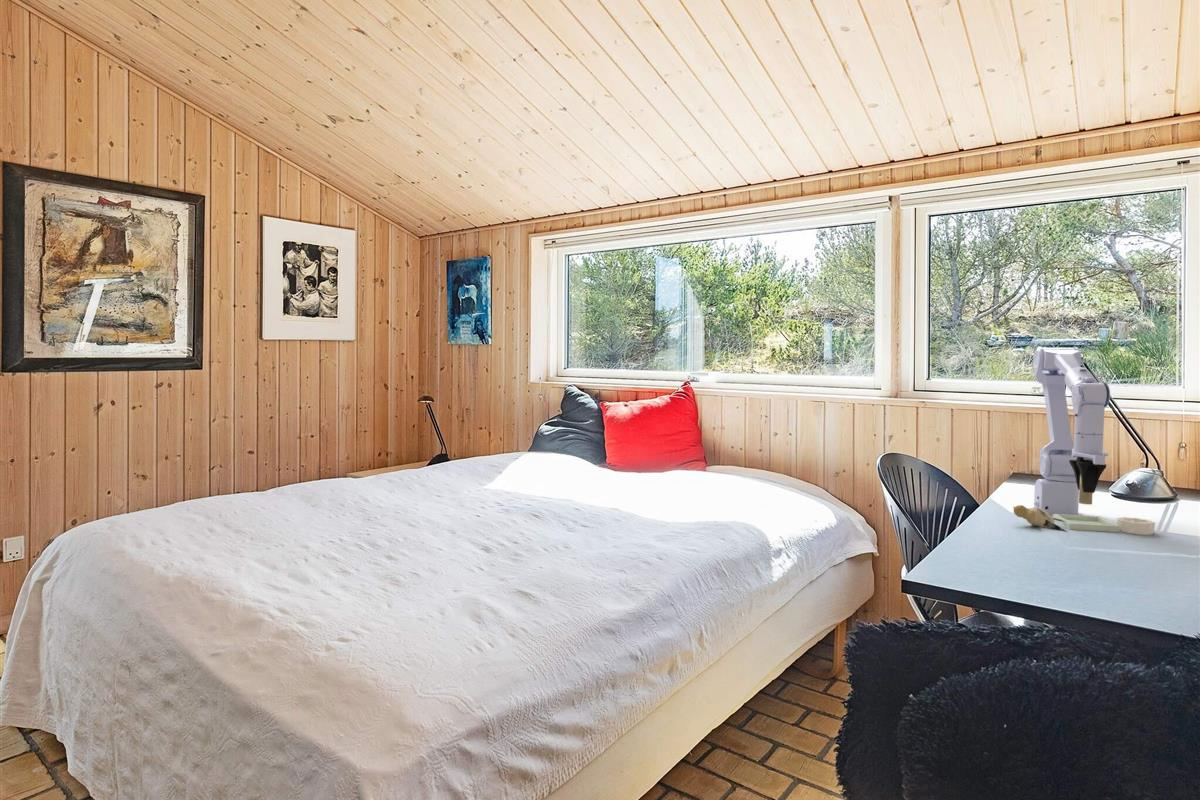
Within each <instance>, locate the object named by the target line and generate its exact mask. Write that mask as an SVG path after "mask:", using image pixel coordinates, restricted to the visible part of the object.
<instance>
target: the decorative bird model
mask: <svg viewBox="0 0 1200 800" xmlns="http://www.w3.org/2000/svg"><path fill="white" fill-rule="evenodd" d="M1013 513H1014V515H1015V516H1016V517H1017V518H1023V519H1024V520H1026V521H1027V523H1029V524H1030V525H1031V526H1033V527H1036V528H1038V529H1041V528H1044V529H1045V528H1047V529H1054V530H1057V531H1062V532H1065V533H1068V531H1067V530H1065V529H1063V528H1062V527H1061V526H1059V525H1057V524H1056V523H1055V520H1057V521H1061V522H1064V520H1062V519H1056V518H1053V516H1052V515H1050V514H1049V513H1047V512H1046V511H1045V510H1043V509H1040V508H1034V507H1029V508H1028V507H1026V506H1024V505H1016V506H1013ZM1053 519H1054V520H1053Z"/></svg>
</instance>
